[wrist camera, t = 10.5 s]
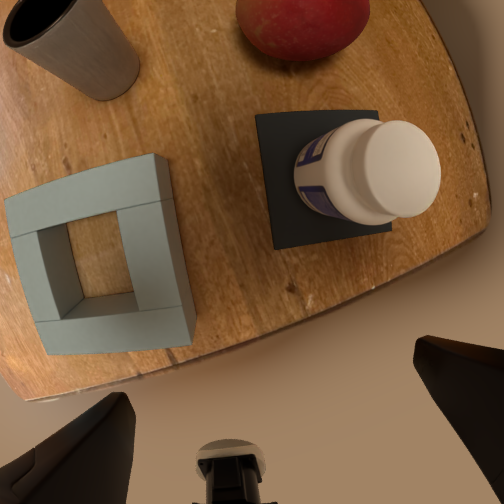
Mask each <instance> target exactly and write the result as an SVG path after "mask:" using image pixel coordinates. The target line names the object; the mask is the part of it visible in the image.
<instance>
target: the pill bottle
mask: <svg viewBox="0 0 504 504" xmlns="http://www.w3.org/2000/svg"><path fill="white" fill-rule="evenodd" d="M440 178H441V171H440V163H439V158H438V155H437V152H436V150H435V147H434V145H433V144H432V142H431V141H430V139H429V138H428V136H427V135H426V134H425V133H424V132H423V131H422V130H421V129H419V128H418V127H417V126H415V125H413V124H411V123H409V122H405V121H399V120H396V121H389V122H385V123H383V122H381V121H378V120H373V119H359V120H354V121H351V122H348V123H346V124H344V125H342V126H340V127H338V128H336V129H334V130H332V131H330V132H328V133H326V134H324V135H322V136H320V137H318V138H317V139H315V140H313V141H312V142H310V143H309V144H307V145H306V146H305V147H304V148H303V149H302V151H301V152H300V154H299V155H298V158H297V160H296V163H295V168H294V182H295V186H296V189H297V191H298V193H299V195H300V197H301V198H302V200H303V201H304V202H305V203H306V204H307V205H308V206H309V207H310V208H311V209H313V210H315V211H316V212H319V213H321V214H324V215H328V216H332V217H336V218H340V219H344V220H348V221H352V222H356V223H360V224H364V225H381V224H385V223H388V222H390V221H392V220H394V219H396V218H397V217H403V218H408V217H414V216H417V215H419V214H421V213H423V212H424V211H425V210H426V209H427V208H428V207H429V206H430V205H431V204H432V202H433V201H434V199H435V197H436V195H437V192H438V190H439V185H440Z"/></svg>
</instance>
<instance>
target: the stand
mask: <svg viewBox="0 0 504 504" xmlns="http://www.w3.org/2000/svg"><path fill="white" fill-rule="evenodd" d="M172 198H173V193H172V187H171V180H170V174H169V167H168V160H167V159H165V158H163V157H161V156H159V155H157V154H155V153H149V154H145V155H141V156H136V157H132V158H128V159H124V160H120V161H117V162H113V163H109V164H106V165H102V166H98V167H95V168H92V169H88V170H85V171H82V172H78V173H75V174H72V175H69V176H66V177H63V178H60V179H57V180H54V181H51V182H48V183H45V184H42V185H40V186H37V187H34V188H32V189H29V190H26V191H24V192H21V193H19V194H16V195H14V196H11V197H9V198H6V199H5V200H4V203H5V210H6V217H7V223H8V228H9V234H10V238H11V243H12V248H13V253H14V257H15V261H16V265H17V269H18V273H19V276H20V280H21V283H22V287H23V290H24V293H25V297H26V300H27V303H28V306H29V309H30V312H31V314H32V317H33V320H34V322H35V326H36V328H37V331H38V333H39V336H40V338H41V341H42V343H43V346H44V348H45V350H46V353H47V355H79V354H101V353H117V352H131V351H143V350H153V349H163V348H172V347H181V346H189V345H192V343H193V337H194V331H195V325H196V320H197V315H196V310H195V306H194V302H193V297H192V293H191V288H190V284H189V279H188V274H187V269H186V265H185V260H184V255H183V249H182V244H181V239H180V234H179V228H178V223H177V217H176V211H175V205H174V199H172ZM116 210H117V211H116ZM111 211H116V212H117V218H118V223H119V228H120V233H121V238H122V243H123V248H124V252H125V257H126V261H127V265H128V270H129V274H130V278H131V282H132V285H133V289H134V292H130V293H123V294H115V295H108V296H101V297H94V298H86V299H84V296H83V293H82V289H81V286H80V282H79V279H78V275H77V271H76V267H75V263H74V259H73V255H72V251H71V246H70V242H69V237H68V232H67V227H66V223H67V222H70V221H74V220H78V219H82V218H86V217H90V216H94V215H99V214H103V213H107V212H111Z"/></svg>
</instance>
